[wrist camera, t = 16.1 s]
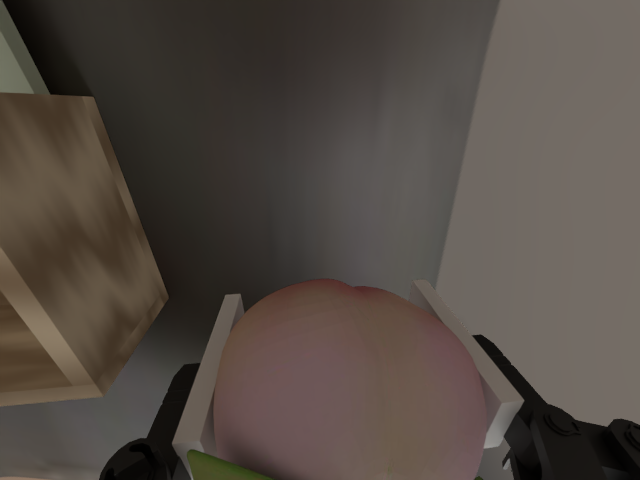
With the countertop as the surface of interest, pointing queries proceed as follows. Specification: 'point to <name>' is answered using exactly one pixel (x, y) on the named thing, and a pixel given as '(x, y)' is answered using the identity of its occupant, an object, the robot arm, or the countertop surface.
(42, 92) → the pale green panel
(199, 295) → the countertop surface
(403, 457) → the decorative fruit
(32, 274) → the box
